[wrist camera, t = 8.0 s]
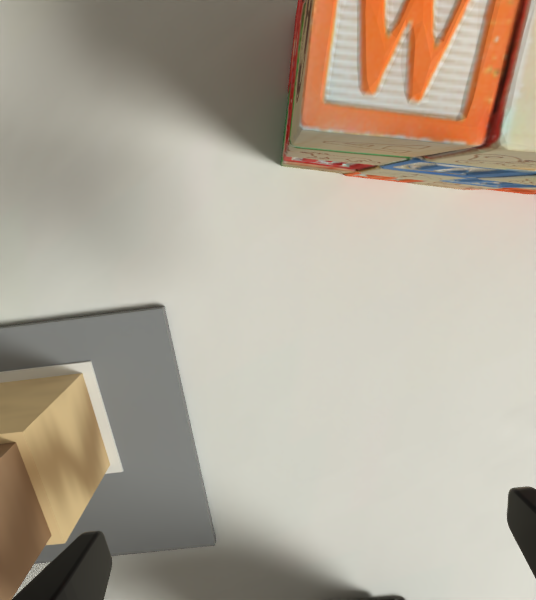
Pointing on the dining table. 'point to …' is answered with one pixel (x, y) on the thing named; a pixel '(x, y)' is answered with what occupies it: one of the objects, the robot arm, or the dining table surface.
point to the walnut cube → (18, 522)
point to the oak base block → (55, 445)
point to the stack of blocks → (415, 92)
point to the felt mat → (124, 425)
